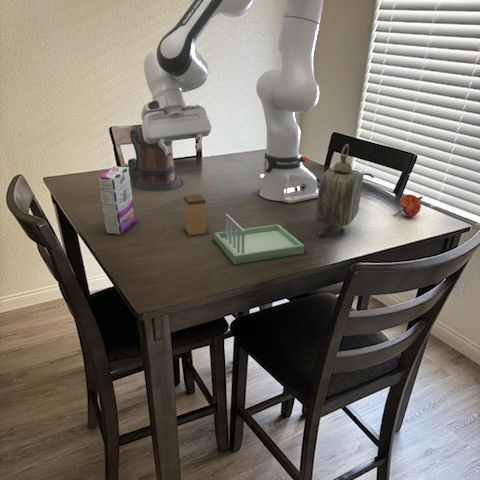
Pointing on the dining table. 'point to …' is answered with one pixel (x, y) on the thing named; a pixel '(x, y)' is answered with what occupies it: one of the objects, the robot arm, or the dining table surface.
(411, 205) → the pomegranate
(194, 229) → the kraft box
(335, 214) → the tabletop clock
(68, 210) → the dining table surface
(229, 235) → the dish rack
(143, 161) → the tankard
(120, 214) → the candy bar box
